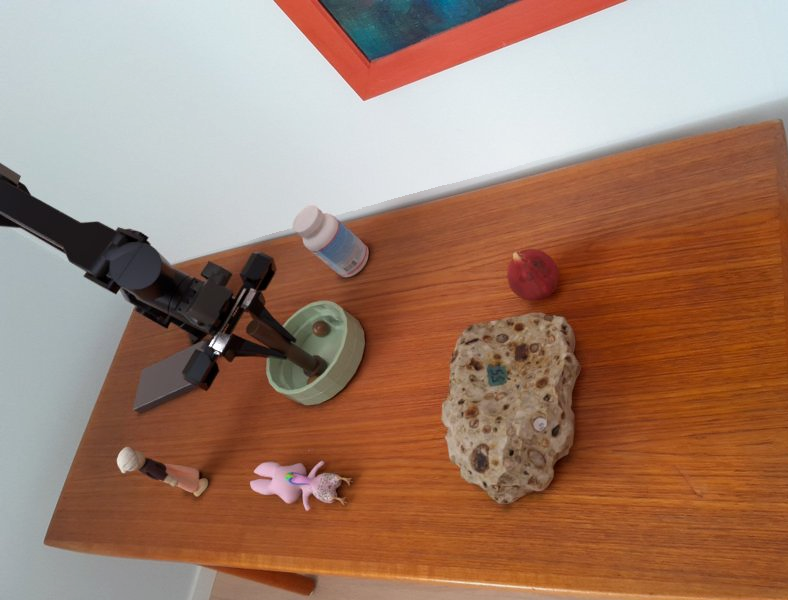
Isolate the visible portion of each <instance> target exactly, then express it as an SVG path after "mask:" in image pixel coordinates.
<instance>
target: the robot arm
mask: <svg viewBox="0 0 788 600" xmlns="http://www.w3.org/2000/svg"><path fill="white" fill-rule="evenodd" d="M21 177H22V175H20V173H18V172H16V171H14V170H12V169H11V168H10V167H8V166H7V165H5V164H3V163H2V162H0V227H1V228H12V229H21V230H22V231H24V232H26V233H28V234H29V235H31V236H33V237H35V238H37V239H38V240H39V241H42V242H43V243H45V244H47V245H49V246H50V247H52V248H54V249H55V250H57V251H59V252H61V253H63V254H64V255H65V256H66V258H67V260H68V262H69V263H70V264H72V265H73V266H75V267H77V268H78V269H80V270H82V271H84V274H83V276H82V277H83V278H85V279H87V280H88V281H90V282H92V283H94V284H96V285H97V286H99V287H101V288H103V289H104V290H106V291H108V292H110V293H112V294H114V295H117V294H118V292H120V293H121V295H122V297H123V299H124V300H125V301H126V302H128V303H129V304H131V305H133V306H135V308H134V310H133V311H134V312H136V313H138V314H139V315H141V316H143V317H145V318H146V319H148V320H150V321H151V322H153V323H155V324H157V325H159V326H161V327H162V328H165V329H167V330H168V329H169V327H170V325H171V324H173V325H174V326H177V327H178V328H180V329H182V331H185V332H186V333H188V336H189V341H190V344H191V345H192V346H193V345H195V344H197V343H199V342H200V340H201V339H203V338H204V337H205V336H206V335H207V334H208V335H209V336H211V338H210V339H209V340H210V341H209V343H208V345H207V346H206V348H205V350H204V352H202V351H200V350H197V349H195V351H194V352H193V354H192V356H191V357H190V359H189V361H188V362H187V364H186V366H185V368H184V369H183V371H182V376H183V379H184V380H186V381H187V382H189V383H191V384H193V385H195V386H197V387H198V389H201V390H202V391H205V392H208V391H209V390H210V388H212V387H211V386H212V385H213V383H214V382H215V380H216V378H217V376H218V374H219V373H220V368H219V365H218V362H216V361H217V360H218V358H220V359H222V358H224V359H225V360H226V361H227V362H228V363H232V362H233V361H234V360H235V358H243V357H244V358H246V357H247V358H249V357H253V358H254V357H256V358H265V359H267V358H272V359H281V360H287V358H288V357H287V356H286V355H284V354H282V353H280V352H278V351H276V350H273V349H270V348H269V347H267V346H265V345H262V344H259V343H256V342H254V341H250V340H247V339H246V338H243V337H241V336H239V335H237V334H235V333H233V332H234V330H235V329H236V327H237V325H238V323H239V322H240V320H241V319H242V317H243V315H244V313H246V314H249V315H250V317H251V319H252V320H254V319H258V320H259V321H261V322H262V323H264V324H265V325H267V326H268V327H270V328H271V329H273V330H274V331H276V332H277V333H279V334H280V335H282V336H283V337H285V338H286V339H288V340H289V341H291V342H294V343H296V342H297V340H296V338H295V337H293V336H292V335H291V334H290V333H289V332H288V331H287V330H286V329H285V328H284V327H283V325H282V324H281V323H280V322H279V321H278V320H277V319H276V318H275V317H274V316H273V315H272V314H271V312H270V311H269V310H268V308H266V306H265V305H266V302H267V301H266V297H265V295H264V294H263V292H264V291H267V289H268V287H269V285H270V284H271V282H272V280H273V279H274V277H275V275H276V272H277V266H276V262H275V259H274V257H273V256H271V255H269V254H267V253H264V252H263V251H255V252H251V254H250V255H249V257H248V259H247V261H246V263H245V264H244V266H243V268H242V269H241V271H240V273H239V276H240V279H241V281H242V282H243V283H242V285H241V287H240V288H239V289H238V292H237V293H236V295H235V296H234V290H233V289H231V288H229V287H227V285H228V283H229V282H230V280H231V278H232V276H233V272H231V271H230V270H228V269H226V268H224V267H223V266H221V265H218V264H217V263H214V262H212V261H210V260H208V261H207V262H206V264H205V266H204V267H203V269H202V270H201V272H200V276H201V277H202V278H203V279H205V280H201V279H199V278H197V277H195V276H192V275H190V274H188V273H186V272H184V271H182V270H180V269H178V268H176V267H174V266H173V265H172V264H171V263H170V262H169V260H168V259H167V258H165V256H163V254H161V253H160V252H159V251H158V250H157V248H155V247H154V246H153V245H151V243H150V242H149V241H148V240H149V239H150V237H149V236H148V235H146V234H145V233H143V232H142V231H139V230H136V229H132V228H123V227H119V226H117V228H116V229H114V228H112V227H110V226H108V225H106V224H104V223H102V222H100V221H83V222H81V221H79V220H77V219H76V218H74V217H71V216H70V215H68V214H67V213H65V212H63V211H61V210H59V209H57V208H55V207H54V206H51V205H50V204H48V203H46V202H45V201H43V200H41V199H40V198H37V197H35V196H33V195H32V194H31V192H30V191H29V188H28V186H26V185H25V184H24V183H22V182H21V181H20V180H21Z"/></svg>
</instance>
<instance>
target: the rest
mask: <svg viewBox="0 0 788 600" xmlns="http://www.w3.org/2000/svg"><path fill="white" fill-rule="evenodd" d="M210 340H211V339H210V338H205V339H203V340H201V341H198V342H197V343H196V344H194V345H193V344H192V345H190V346H189V347H186V348H185V349H182V350H180V351H177V352H176V353H174V354H171V355H170V356H168V357H166V358H163V359H161V360H159V361H157V362H155V363H153V364H150V365H148V366H147V367H145V368H143V369H141V373H140V375H139V376H140V377H139V380H138V381H139V382H138V386H137V390H136V394H135V398H134V403H133V407H132V410H133V411H134V412H137V413H139V414H142V413H144V412H146V411H148V410H151V409H153V408H155V407H157V406H160V405H162V404H165V403H167V402H169V401H171V400H173V399H175V398H178V397H180V396H183V395H185V394H187V393H189V392H191V391H193V390H197V389H199V387H197V386H195V385H193V384H191V383H189V382H187V381H186V380H184V379H183V376H182V371H183V369H184V368H185V366H186V364H187V362H188V361H189V359H190V357H191V356H192V354H193V352H194V351H195V349H197V350H200V351H202V352H204V350H205V348H206V346H207V345H208V343H209V341H210Z"/></svg>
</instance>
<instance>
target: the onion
mask: <svg viewBox="0 0 788 600" xmlns="http://www.w3.org/2000/svg"><path fill="white" fill-rule="evenodd" d="M506 272H507V273H506V278H507V282H508V285H509V288H510V290H511V292H512V293H514V294H515V295H516V296H517V297H519V298H520V299H522V300H525V301H530V302H536V301H537V302H538V301H542V300H544V299H547V298H548V297H549V296H550V295H551V294H552V293H554V291H555V290H556V288H557V286H558V284H559V277H560V276H559V274H560V271H559V268H558V266H557V264H556V262H555V260H554V259H553V257H551V255H549V254H547V253H546V252H544V250H541V249H536V248H527V249H523V250H521V251H519V250H515V251H514V252H513V253H512V258H511V260H510V261H509V263H508V266H507V271H506Z"/></svg>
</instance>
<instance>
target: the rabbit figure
mask: <svg viewBox="0 0 788 600" xmlns="http://www.w3.org/2000/svg"><path fill="white" fill-rule="evenodd" d="M324 465H325V461H324V460H321V461H319V462H318V463H317V464H316V465H315V466H314V467H313V468H312V469H311V470H310V472H309V474H308V472H307V469H306V467H305V465H304V464H302V463H300V462H299V463H294V464H291V465H282V464H280V463H278V462H275V461H266V462H262V463H260V464H259V465H258V466H256V468H255V469H254V471H253V473H254V474H256V475H258V476H260V477H265V478H258V479H254V480H250V482H249V485H250V488H251V489H252V491H254V492H256V493H258V494H260V495H264V496H269V495H277V496H278V497H279V498H280V499H281V500H283V501H284V502H285V504H293V503H294V502H297V500H299V499H300V497H301V495H302V503H303V506H304V509H305V511H307V512H309V511H310V510H311V506H310V504H309V497H310V496H311V495H313V496H314V497H315V498H316V499H317V500H319V501H321V502H323V503H326V504H333V503H335V502H336V501H340V502H341V504H342V505H345V503H346V504H347V503H348V502H347V501H345V500H346V498H347V496H344V497H338V493H337V489H338V488H340V487H341V486H342V483H343V481H345V482H346V483H347V484H348V486H351V484H350V483H353V481H352V479H353V477H341V476H340V475H339V474H337V473H332V472H323V473H320V474H318V475H317V472H318V470H319V469H320V468H321V467H323V466H324ZM307 474H308V475H307ZM267 478H271V479H267ZM342 480H343V481H342Z"/></svg>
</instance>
